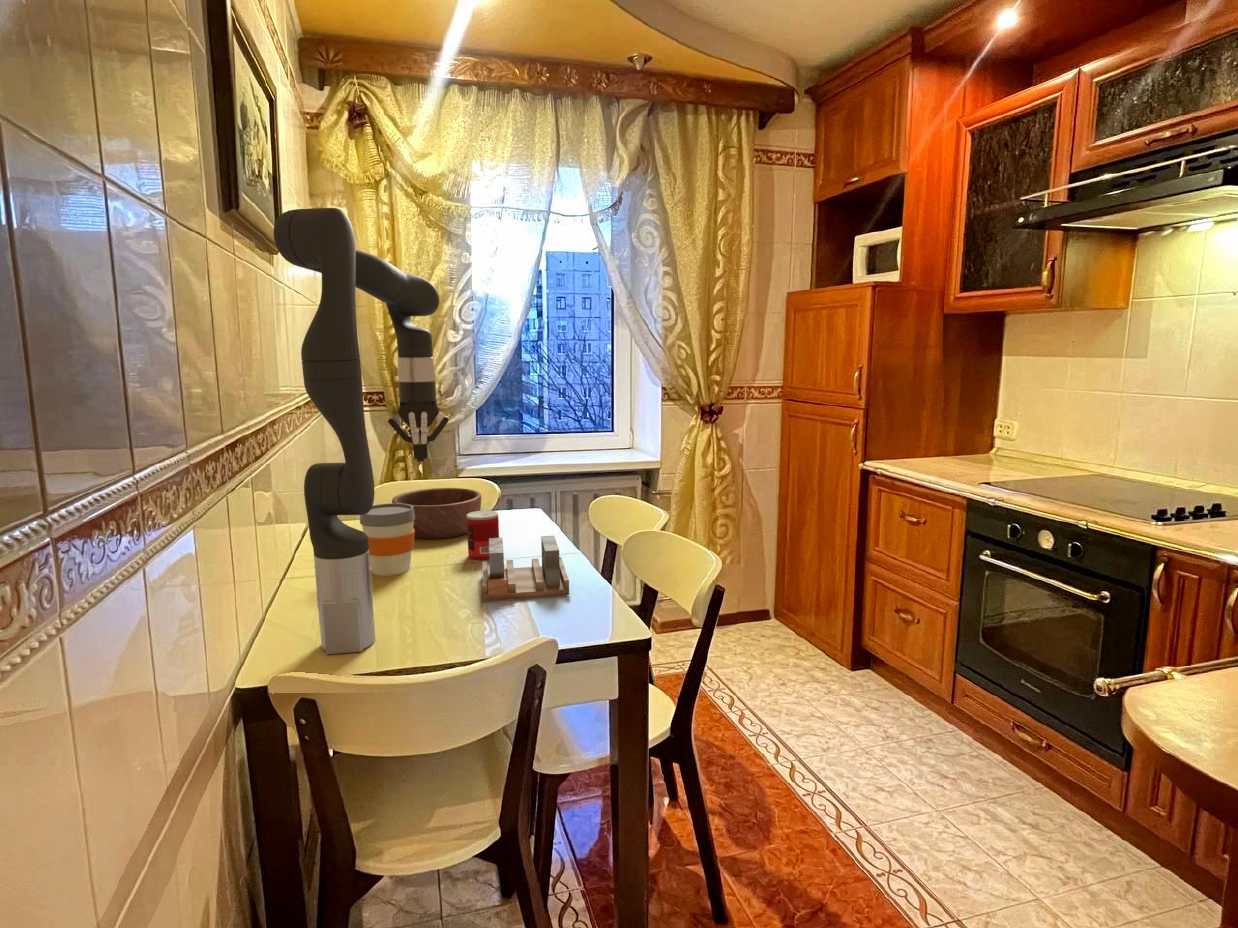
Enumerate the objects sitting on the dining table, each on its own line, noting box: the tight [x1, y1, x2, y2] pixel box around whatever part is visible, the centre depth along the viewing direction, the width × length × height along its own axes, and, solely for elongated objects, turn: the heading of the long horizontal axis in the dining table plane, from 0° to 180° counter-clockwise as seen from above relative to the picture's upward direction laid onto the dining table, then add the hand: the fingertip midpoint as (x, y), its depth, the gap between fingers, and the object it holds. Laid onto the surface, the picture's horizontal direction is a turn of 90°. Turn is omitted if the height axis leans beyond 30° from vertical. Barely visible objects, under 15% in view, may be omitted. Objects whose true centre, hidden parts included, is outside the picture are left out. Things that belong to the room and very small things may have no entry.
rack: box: [481, 535, 570, 603], centre depth 160 cm, size 17×18×10 cm
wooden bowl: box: [391, 487, 482, 540], centre depth 207 cm, size 25×25×10 cm
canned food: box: [466, 509, 500, 561], centre depth 182 cm, size 8×8×11 cm
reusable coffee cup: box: [359, 502, 415, 577], centre depth 172 cm, size 13×13×15 cm
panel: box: [488, 537, 505, 579], centre depth 159 cm, size 12×3×8 cm, turn 10°
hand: (421, 461), depth 153 cm, fingers closed
